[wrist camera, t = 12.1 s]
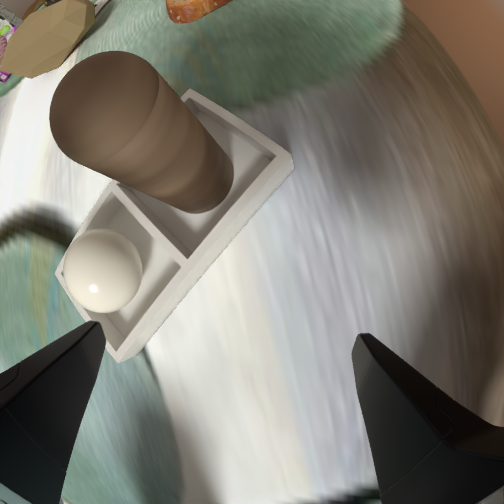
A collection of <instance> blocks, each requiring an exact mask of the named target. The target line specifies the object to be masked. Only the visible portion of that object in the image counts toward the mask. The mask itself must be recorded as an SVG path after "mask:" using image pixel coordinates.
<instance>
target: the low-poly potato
mask: <svg viewBox="0 0 504 504" xmlns="http://www.w3.org/2000/svg"><path fill="white" fill-rule="evenodd" d="M96 6H97V5H94V4H93V3H92V2H90V1H89V0H62V1H59V2H57V3H55V4H53V5H51V6H48V7H45V8H43V9H41V10H38V11H36V12H34V13H31V14H30V15H29V16H28V17H27V18H26V19H25V20H24V22H23V23H22V24H21V25H20V26H19V27H18V28H17V30H16V31H15V32H14V33H13V34H12V36H11V37H10V38H9V40H8V43H7V46H6V50H5V53H4V56H3V60H2V63H1V67H0V71H2V72H6V73H11V74H15V75H19V76H23V77H28V78H31V79H32V78H34V77H36V76H39V75H41V74H43V73H46V72H48V71H51V70H53V69H56V68H58V67H60V66H61V64H62V63H63V62H64V60H65V59H66V58H67V57H68V55H69V54H70V53H71V52H72V50H73V49H74V48H75V47H76V45H77V44H78V43H79V42H80V41H81V39H82V38H83V37H84V35H85V34H86V33H87V32H88V30H89V29H90V28H91V27H92V26H93V24H94V23H95V7H96Z"/></svg>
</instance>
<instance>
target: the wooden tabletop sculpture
mask: <svg viewBox="0 0 504 504" xmlns="http://www.w3.org/2000/svg"><path fill="white" fill-rule="evenodd" d="M41 1H42V2H43V3H44V5H45V6H46V7H48V6H51V5H53V4H55V3H57V2H59V1H62V0H45V1H46V2H47V5H46V3H45V2H44V1H43V0H41Z"/></svg>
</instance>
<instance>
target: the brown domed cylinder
mask: <svg viewBox="0 0 504 504" xmlns="http://www.w3.org/2000/svg"><path fill="white" fill-rule="evenodd" d="M49 120H50V128H51V132H52V135H53V138H54V140H55V142H56V143H57V145H58V147H59V148H60V149H61V151H62V152H63V153H64V154H65V155H66V156H68V157H69V158H70V159H72V160H73V161H75V162H77V163H79V164H81V165H83V166H85V167H87V168H90V169H92V170H94V171H96V172H98V173H101V174H103V175H105V176H107V177H109V178H112V179H114V180H116V181H118V182H120V183H123V184H125V185H127V186H129V187H131V188H134V189H136V190H138V191H140V192H142V193H144V194H147V195H149V196H151V197H153V198H155V199H158V200H160V201H162V202H164V203H166V204H168V205H171V206H173V207H175V208H177V209H179V210H181V211H184V212H186V213H190V214H200V213H205V212H208V211H210V210H212V209H214V208H215V207H217V206H218V205H219V204H220V203H221V202H222V201H223V200H224V199H225V198H226V197H227V195H228V193H229V192H230V189H231V187H232V184H233V179H234V169H233V165H232V162H231V160H230V158H229V157H228V156H227V154H226V153H225V152H224V151H223V149H222V148H221V147H220V146H219V144H218V143H217V142H216V141H215V139H214V138H213V137H212V136H211V134H210V133H209V132H208V131H207V130H206V128H205V127H204V126H203V125H202V124H201V122H200V121H199V120H198V119H197V117H196V116H195V115H194V114H193V113H192V111H191V110H190V109H189V108H188V107H187V106H186V104H185V103H184V102H183V101H182V100H181V98H180V97H179V96H178V95H177V94H176V93H175V91H174V90H173V89H172V88H171V87H170V86H169V84H168V83H167V82H166V81H165V80H164V79H163V77H162V76H161V75H160V74H159V73H158V72H157V71H156V69H155V68H154V67H153V66H152V65H151V64H150V63H148V62H147V61H146V60H144V59H143V58H141V57H139V56H137V55H135V54H132V53H128V52H124V51H108V52H102V53H98V54H95V55H92V56H90V57H88V58H86V59H84V60H82V61H81V62H79V63H78V64H76V65H75V66H74V67H73V68H72V69H71V70H70V71H69V72H68V73H67V74H66V75H65V76H64V77H63V79H62V80H61V82H60V83H59V85H58V86H57V88H56V90H55V93H54V95H53V98H52V102H51V106H50V117H49Z"/></svg>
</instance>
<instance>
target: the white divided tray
mask: <svg viewBox="0 0 504 504" xmlns="http://www.w3.org/2000/svg"><path fill="white" fill-rule="evenodd" d="M181 100H182V101H183V102H184V103H185V104H186V106H187V107H188V108H189V109H190V110H191V111H192V113H193V114H194V115H195V116H196V117H197V119H198V120H199V121H200V122H201V124H202V125H203V126H204V127H205V128H206V130H207V131H208V132H209V133H210V134H211V136H212V137H213V138H214V139H215V141H216V142H217V143H218V144H219V146H220V147H221V148H222V149H223V151H224V152H225V153H226V154H227V156H228V157H229V158H230V160H231V162H232V165H233V169H234V179H233V184H232V187H231V189H230V192H229V193H228V195H227V197H226V198H225V199H224V200H223V201H222V202H221V203H220V204H219V205H218V206H217V207H215V208H214V209H212V210H210V211H208V212H205V213H200V214H190V213H186V212H184V211H181V210H179V209H177V208H175V207H173V206H171V205H168V204H166V203H164V202H162V201H160V200H158V199H155V198H153V197H151V196H149V195H147V194H144V193H142V192H140V191H138V190H136V189H134V188H131V187H129V186H127V185H125V184H123V183H120V182H118V181H116V180H114V179H112V181H111V182H110V183H109V185H108V186H107V188H106V189H105V191H104V192H103V193H102V195H101V196H100V198H99V199H98V201H97V202H96V204H95V205H94V207H93V208H92V210H91V211H90V213H89V215H88V216H87V218H86V219H85V221H84V223H83V224H82V226H81V227H80V229H79V231H78V232H77V234H76V236H75V237H74V239H73V241H72V243H73V242H74V240H76V239H77V238H78V237H79V236H80V235H82V234H83V233H85V232H87V231H89V230H93V229H98V228H106V229H112V230H115V231H118V232H120V233H121V234H123V235H125V236H126V237H127V238H128V239H129V240H130V241H131V242H132V243H133V244H134V246H135V247H136V249H137V251H138V253H139V255H140V258H141V262H142V281H141V285H140V288H139V290H138V292H137V294H136V295H135V297H134V298H133V299H132V301H131V302H129V303H128V304H127V305H126V306H125V307H123V308H121V309H119V310H117V311H114V312H110V313H98V312H93V311H90V310H88V309H86V308H84V307H82V306H81V305H80V304H78V303H77V302H76V301H75V300H74V299H73V297H72V296H71V294H70V293H69V291H68V289H67V287H66V284H65V280H64V275H63V265H64V259H65V256H66V253H67V251H68V250H67V251H66V253H65V255H64V257H63V259H62V260H61V262H60V264H59V266H58V268H57V270H56V272H55V275H56V276H57V278H58V280H59V281H60V283H61V285H62V286H63V288H64V290H65V291H66V293H67V294H68V296H69V297H70V299H71V300H72V302H73V304H74V305H75V307H76V308H77V310H78V311H79V312H80V314H81V315H82V317H83V318H84V320H85V321H86V322H87V321H89V320H93V321H98V322H100V323H101V325H102V328H103V331H104V334H105V337H106V346H105V348H106V349H107V350H108V352H109V353H110V354H111V355H112V357H113V358H114V359H115V360H116V362H117V363H120V362H122V361H125V360H127V359H130V358H132V357H134V356H137V355H138V353H139V352H140V351H141V350H142V349H143V347H144V346H145V345H146V344H147V342H148V341H149V340H150V339H151V337H152V336H153V335H154V334H155V332H156V331H157V330H158V329H159V328H160V326H161V325H162V324H163V323H164V321H165V320H166V319H167V318H168V317H169V315H170V314H171V313H172V312H173V310H174V309H175V308H176V307H177V306H178V304H179V303H180V302H181V301H182V300H183V298H184V297H185V296H186V295H187V293H188V292H189V291H190V290H191V289H192V287H193V286H194V285H195V284H196V283H197V281H198V280H199V279H200V278H201V277H202V275H203V274H204V273H205V272H206V271H207V270H208V268H209V267H210V266H211V265H212V264H213V262H214V261H215V260H216V259H217V258H218V257H219V255H220V254H221V253H222V252H223V251H224V249H225V248H226V247H227V246H228V245H229V244H230V242H231V241H232V240H233V239H234V238H235V237H236V235H237V234H238V233H239V232H240V231H241V230H242V228H243V227H244V226H245V225H246V224H247V223H248V221H249V220H250V219H251V218H252V217H253V216H254V214H255V213H256V212H257V211H258V210H259V209H260V208H261V206H262V205H263V204H264V203H265V202H266V201H267V200H268V198H269V197H270V196H271V195H272V194H273V193H274V192H275V190H276V189H277V188H278V187H279V186H280V185H281V184H282V182H283V181H284V180H285V179H286V178H287V177H288V176H289V175H290V173H291V172H292V171H293V170H294V164H293V160H292V155H291V154H290V153H289V152H288V151H286V150H285V149H283V148H282V147H281V146H279V145H278V144H276V143H275V142H274V141H272V140H271V139H269V138H268V137H266V136H265V135H263V134H262V133H261V132H259V131H258V130H256V129H255V128H253V127H252V126H250V125H249V124H247V123H246V122H244V121H243V120H241V119H239V118H238V117H236V116H235V115H233V114H232V113H230V112H229V111H227V110H225V109H224V108H222V107H221V106H219V105H217V104H216V103H214V102H212V101H211V100H209V99H207V98H206V97H204V96H202V95H201V94H199V93H197V92H196V91H194V90H192V89H190V88H189V89H188V90H187V91H186V92H185V93H184V94H183V96H182V97H181ZM72 243H71V244H72ZM71 244H70V246H71ZM70 246H69V247H70ZM68 249H69V248H68Z"/></svg>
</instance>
